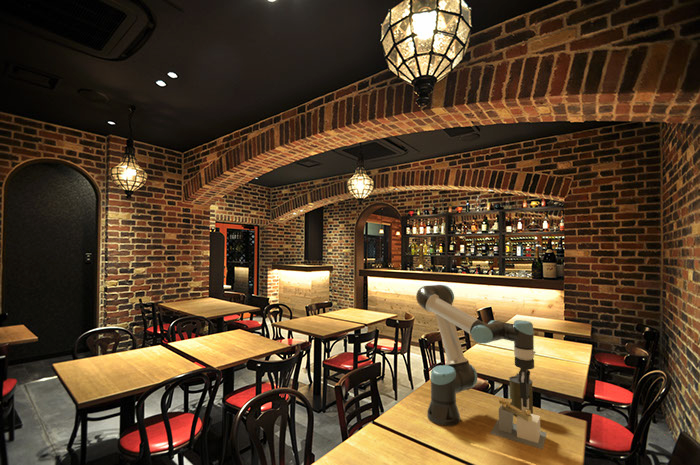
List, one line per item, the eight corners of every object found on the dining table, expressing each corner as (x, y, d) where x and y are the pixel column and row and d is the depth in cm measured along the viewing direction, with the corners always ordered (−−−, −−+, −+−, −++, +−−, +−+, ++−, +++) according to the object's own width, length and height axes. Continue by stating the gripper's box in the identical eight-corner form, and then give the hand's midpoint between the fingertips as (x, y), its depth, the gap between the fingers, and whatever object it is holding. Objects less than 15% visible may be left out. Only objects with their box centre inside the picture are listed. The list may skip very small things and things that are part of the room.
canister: (536, 422, 157) (535, 379, 159) (513, 419, 159) (512, 377, 161) (529, 412, 168) (528, 371, 169) (507, 409, 170) (506, 369, 172)
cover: (516, 436, 142) (516, 417, 143) (520, 429, 149) (519, 410, 149) (538, 443, 138) (537, 423, 138) (540, 434, 144) (540, 415, 145)
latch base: (490, 435, 145) (489, 412, 146) (498, 421, 158) (497, 399, 159) (542, 451, 133) (542, 426, 134) (546, 434, 146) (546, 411, 147)
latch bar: (497, 407, 150) (497, 397, 150) (508, 405, 152) (508, 396, 152) (524, 422, 136) (524, 412, 136) (535, 420, 138) (535, 410, 138)
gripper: (532, 363, 136) (533, 422, 135) (535, 355, 146) (537, 410, 145) (512, 359, 140) (513, 417, 139) (517, 352, 151) (518, 405, 149)
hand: (525, 413), depth 142 cm, fingers closed
